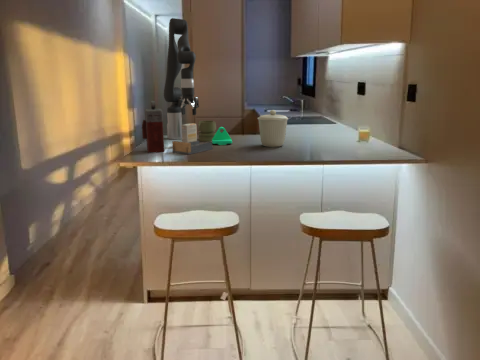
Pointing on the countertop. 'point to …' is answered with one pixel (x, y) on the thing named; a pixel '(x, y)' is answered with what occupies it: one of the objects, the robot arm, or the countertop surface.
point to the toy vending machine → (153, 129)
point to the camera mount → (221, 137)
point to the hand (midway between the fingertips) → (188, 114)
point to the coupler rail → (198, 147)
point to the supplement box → (189, 132)
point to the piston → (206, 130)
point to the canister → (272, 129)
